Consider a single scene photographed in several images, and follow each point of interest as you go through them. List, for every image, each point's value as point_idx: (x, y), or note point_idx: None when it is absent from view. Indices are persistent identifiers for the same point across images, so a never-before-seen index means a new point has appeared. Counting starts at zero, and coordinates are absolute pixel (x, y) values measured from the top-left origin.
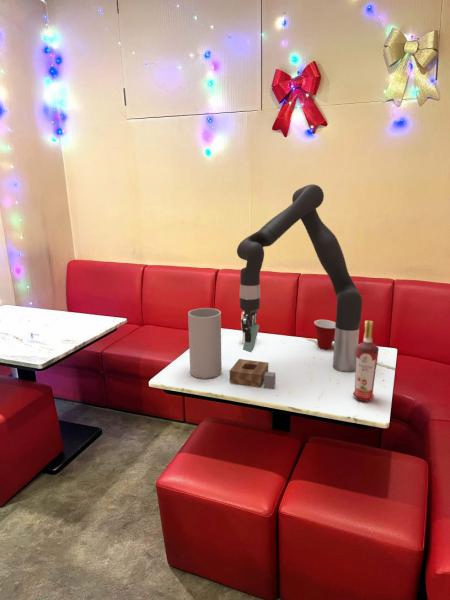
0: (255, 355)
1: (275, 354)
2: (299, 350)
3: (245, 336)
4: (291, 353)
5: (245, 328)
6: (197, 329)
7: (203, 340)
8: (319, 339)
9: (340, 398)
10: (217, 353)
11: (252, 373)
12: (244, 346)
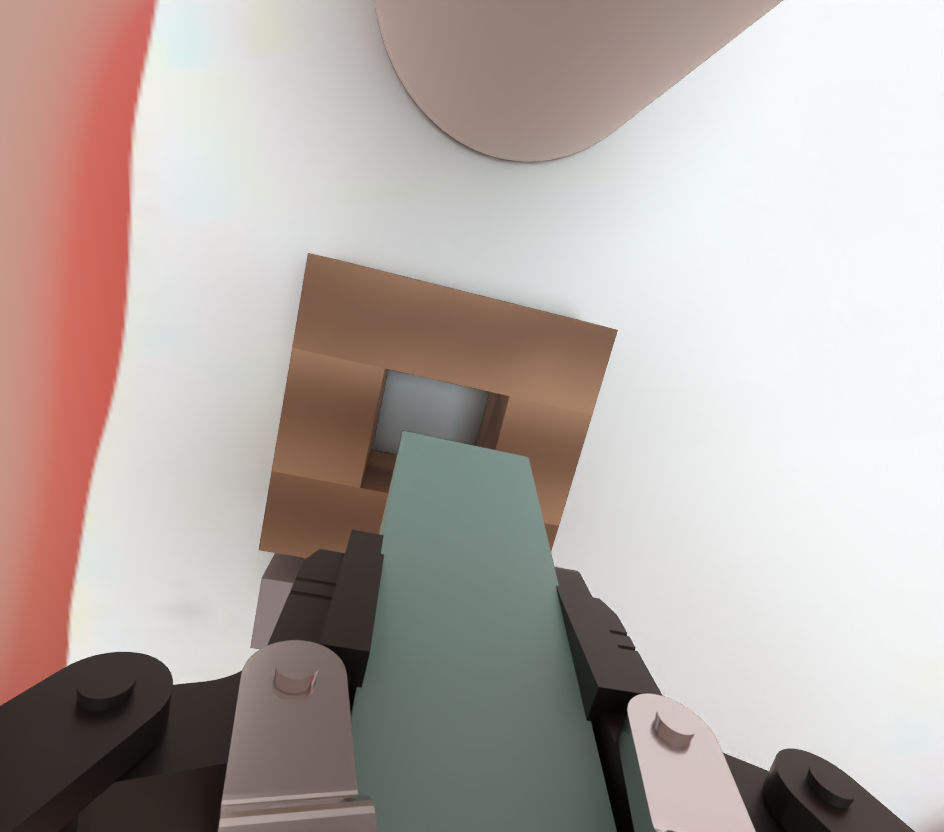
0: (874, 435)
1: (874, 579)
2: (924, 727)
3: (283, 608)
4: (878, 681)
5: (235, 781)
6: None
7: None
8: None
9: None
10: (460, 43)
11: (278, 479)
12: (393, 475)
